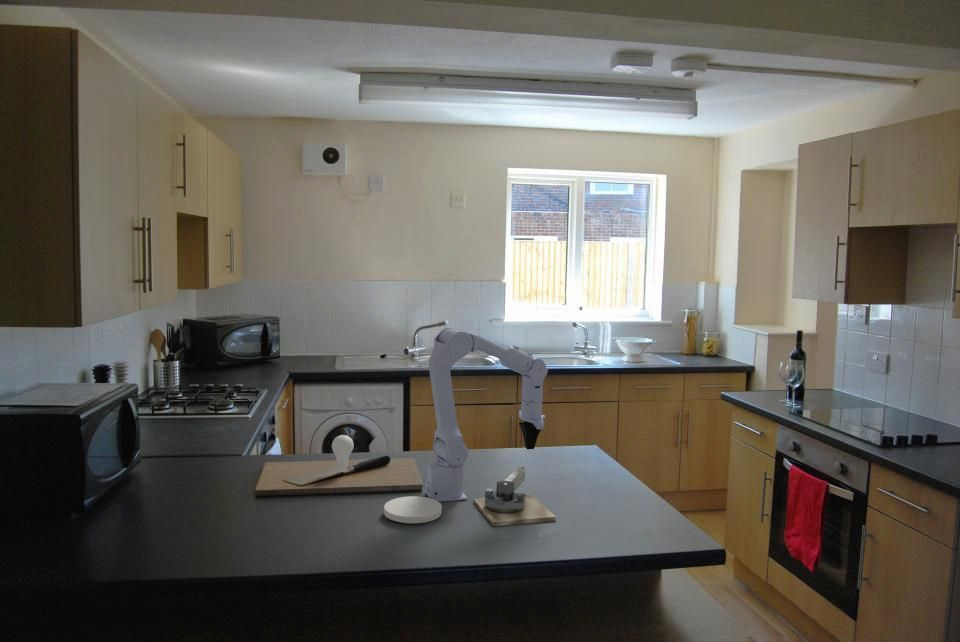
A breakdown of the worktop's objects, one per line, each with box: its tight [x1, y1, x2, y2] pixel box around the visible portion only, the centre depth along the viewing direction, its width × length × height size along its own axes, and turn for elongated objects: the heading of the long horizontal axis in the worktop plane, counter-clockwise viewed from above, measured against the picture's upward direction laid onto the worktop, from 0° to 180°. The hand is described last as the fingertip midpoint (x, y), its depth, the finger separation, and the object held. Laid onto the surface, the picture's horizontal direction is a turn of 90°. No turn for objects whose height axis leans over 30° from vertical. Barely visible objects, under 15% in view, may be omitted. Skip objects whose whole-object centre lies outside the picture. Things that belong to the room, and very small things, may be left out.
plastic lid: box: [383, 495, 443, 524], centre depth 171 cm, size 14×14×2 cm
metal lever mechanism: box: [484, 466, 526, 513], centre depth 180 cm, size 20×10×6 cm, turn 161°
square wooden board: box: [473, 492, 557, 527], centre depth 176 cm, size 16×17×1 cm
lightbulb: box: [331, 434, 355, 469], centre depth 201 cm, size 6×6×11 cm
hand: (529, 448), depth 195 cm, fingers closed
